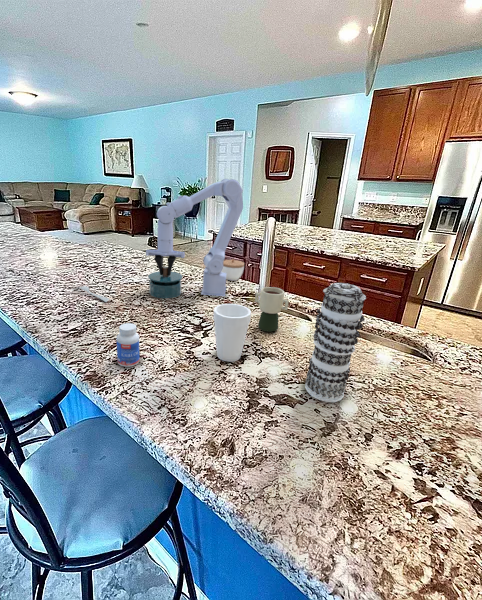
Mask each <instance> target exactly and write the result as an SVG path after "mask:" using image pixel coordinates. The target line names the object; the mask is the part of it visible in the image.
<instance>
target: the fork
mask: <svg viewBox="0 0 482 600" xmlns="http://www.w3.org/2000/svg"><path fill="white" fill-rule="evenodd" d="M78 289H80V290H82V291H85V292H86V293H88V294H90V295H92V296H94V297H96V298H98V299H99V300H101V301H102V302H104V303H108V301H109V300H110V298H108V297H105V296H103V295H100V294H99V295H98V294H95V293H93V292H91V291H90V288H89V287H88V286H86V285H83V286H80V287H79V286H78V287H76V288H75V290H78Z"/></svg>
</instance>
